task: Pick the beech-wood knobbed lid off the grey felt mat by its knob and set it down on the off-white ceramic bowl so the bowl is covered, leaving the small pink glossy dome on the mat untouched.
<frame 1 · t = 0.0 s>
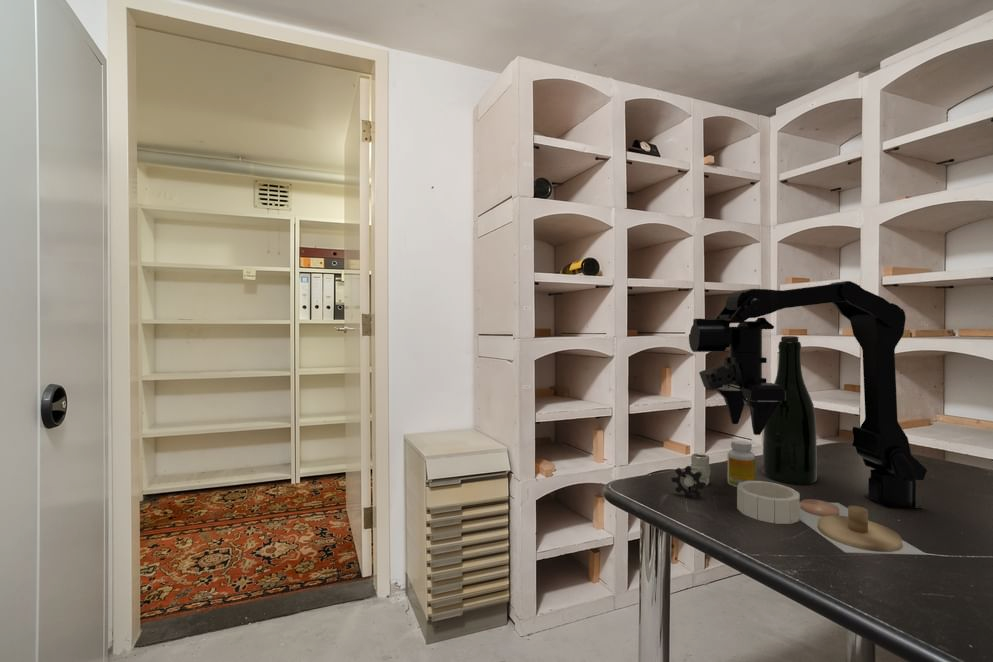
hand: (745, 429, 91), 15 cm above the table, fingers open, 9 cm apart
pink glossy dome: (819, 510, 86), resting on mat
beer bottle: (789, 479, 105), on the table
supplement bottle: (741, 486, 101), on the table
bowl: (767, 513, 86), on the table
mat: (841, 526, 80), on the table
lid: (857, 535, 76), resting on mat
valve: (695, 491, 98), on the table
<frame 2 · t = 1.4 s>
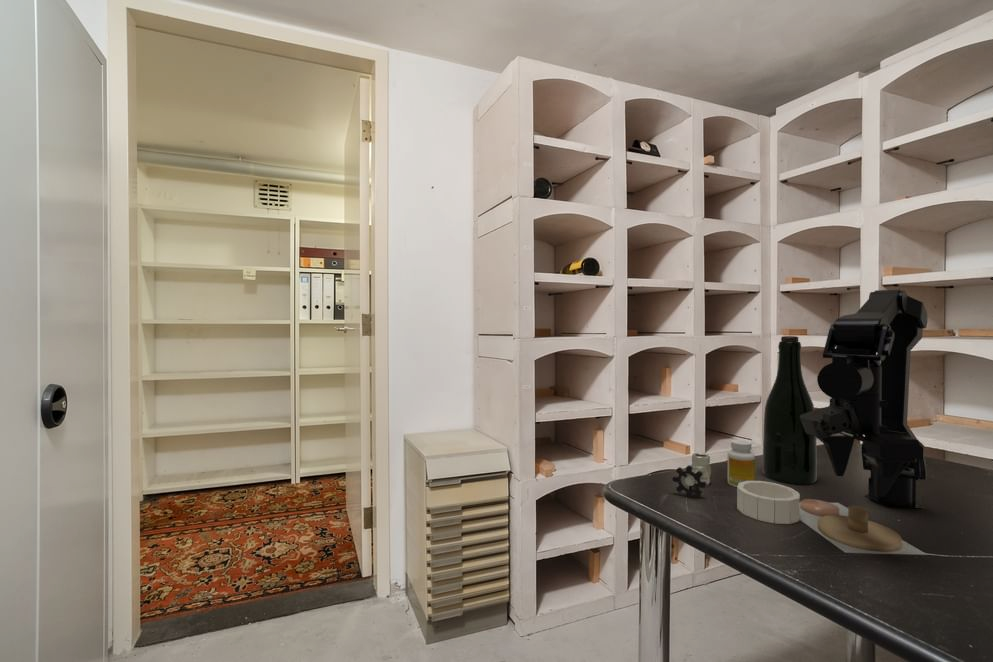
hand: (858, 485, 76), 9 cm above the table, fingers open, 9 cm apart
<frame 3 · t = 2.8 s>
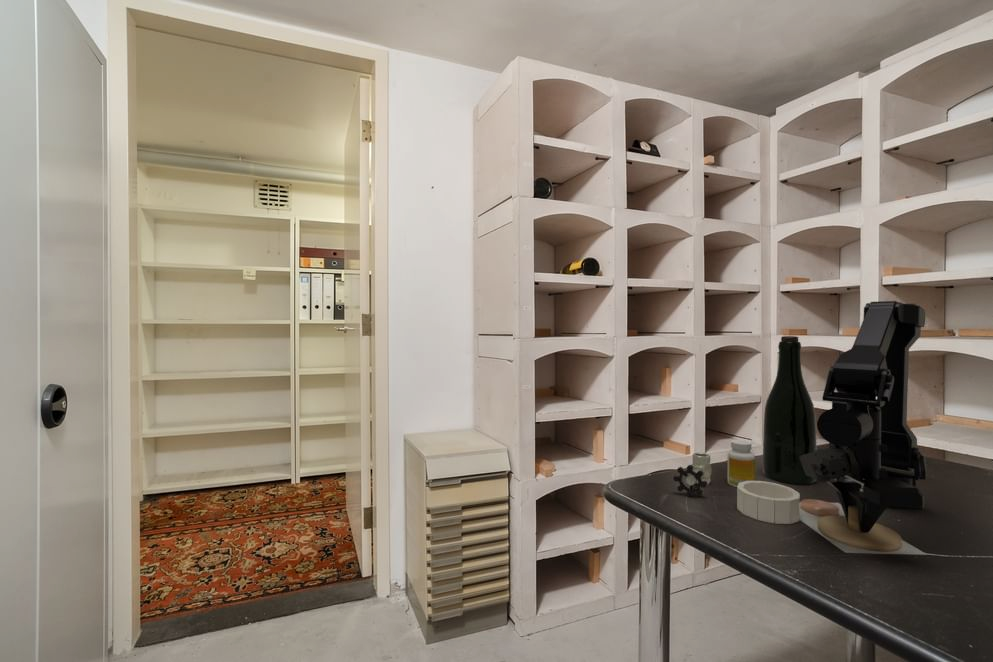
hand: (857, 528, 76), 2 cm above the table, fingers closed on lid, 3 cm apart
lid: (857, 535, 76), resting on mat, touching gripper
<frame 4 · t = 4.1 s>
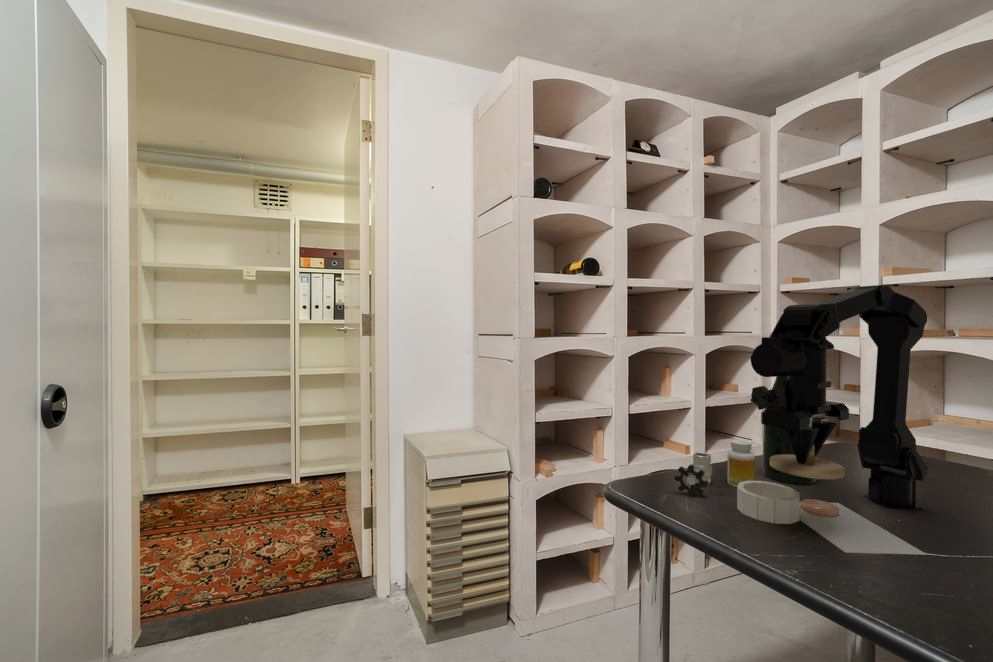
hand: (805, 462, 81), 11 cm above the table, fingers closed on lid, 3 cm apart
lid: (805, 468, 81), point 10 cm above the table, touching gripper
when the fingers open (7 cm above the table, at t = 5.3 s): lid drops 1 cm, resting on bowl.
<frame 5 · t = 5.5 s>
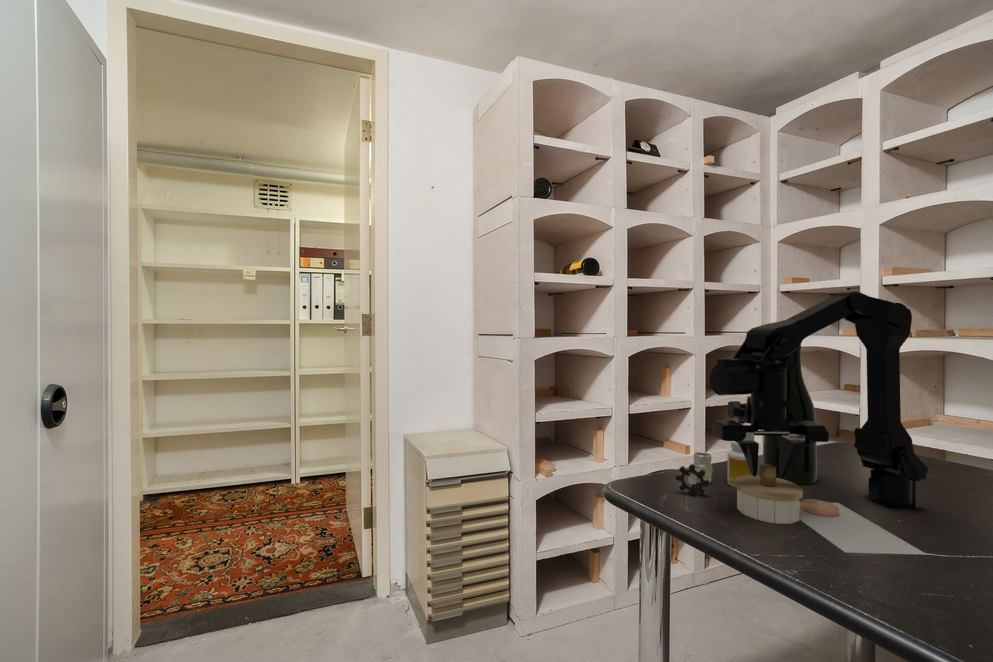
hand: (767, 475, 86), 7 cm above the table, fingers open, 5 cm apart
lid: (767, 490, 86), point 4 cm above the table, touching bowl
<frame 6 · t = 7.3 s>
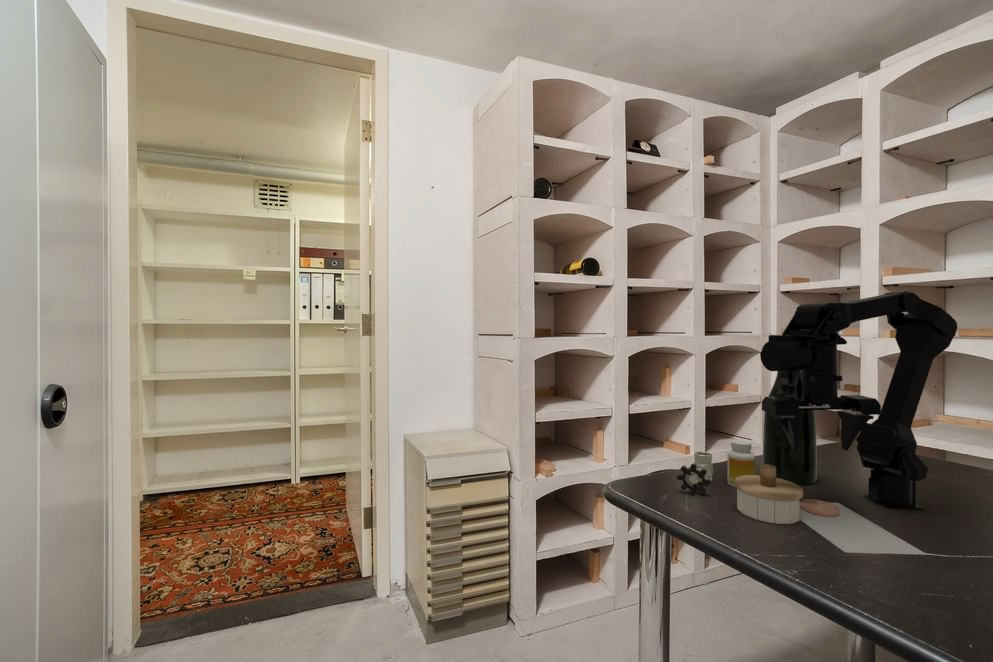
hand: (819, 450, 87), 12 cm above the table, fingers open, 9 cm apart
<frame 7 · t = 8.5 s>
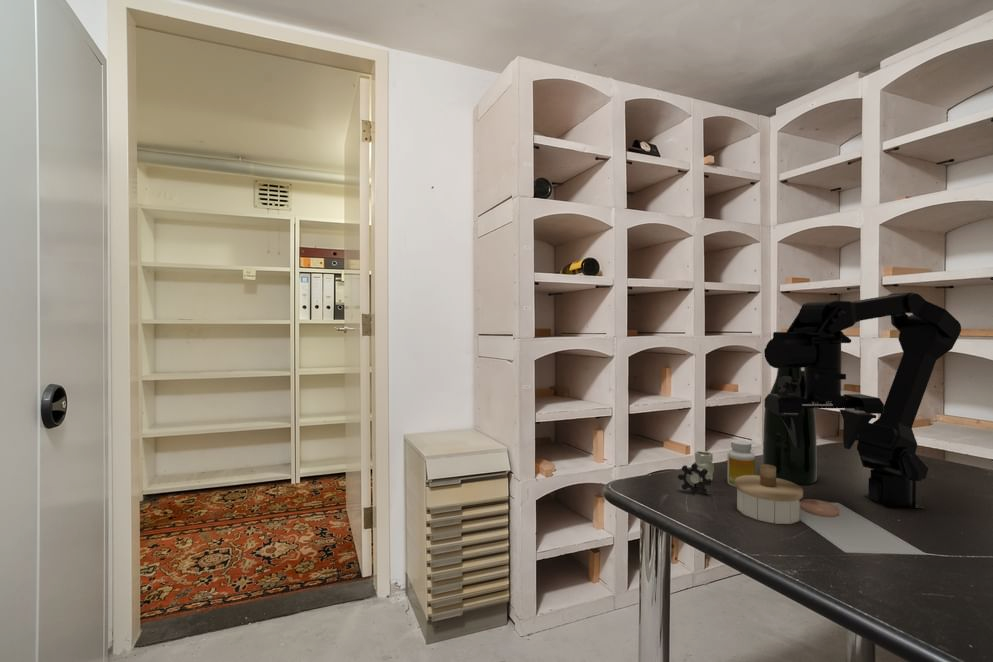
hand: (821, 448, 87), 12 cm above the table, fingers open, 9 cm apart
at the end: lid 0.1 cm off-centre on the bowl, point 4.5 cm above the bowl's base; lid tilted 0°; the gripper is holding nothing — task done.
